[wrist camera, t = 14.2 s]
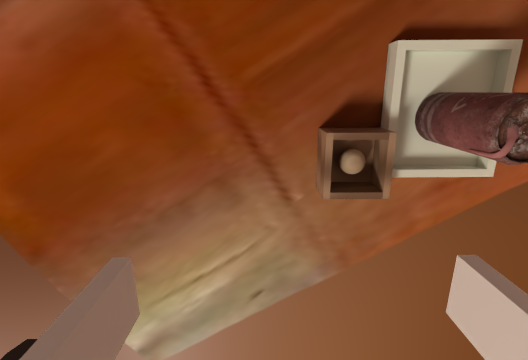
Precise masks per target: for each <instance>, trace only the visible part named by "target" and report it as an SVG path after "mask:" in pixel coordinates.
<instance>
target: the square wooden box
mask: <svg viewBox="0 0 528 360" xmlns="http://www.w3.org/2000/svg"><path fill="white" fill-rule="evenodd" d="M396 135H397V132H393V131H390V130H387V129H384V128H380V127H379V128H319V135H318V157H317V179H316V187H317V189H318V191H319V193H320V194H321V196H322V198H323V199H389V194H390V186H391V177H392V169H393V161H394V152H395V144H396ZM348 149H356V150H359V151H360V152H362V154H363V155H364V157H365V166H364V168H363V169H362V170H361V171H360V172H359V173H356V174H348V173H345V172H344V171H343V170H342V169H341V168H340V165H339V158H340V156H341V154H342V153H343V152H344V151H346V150H348Z"/></svg>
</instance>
